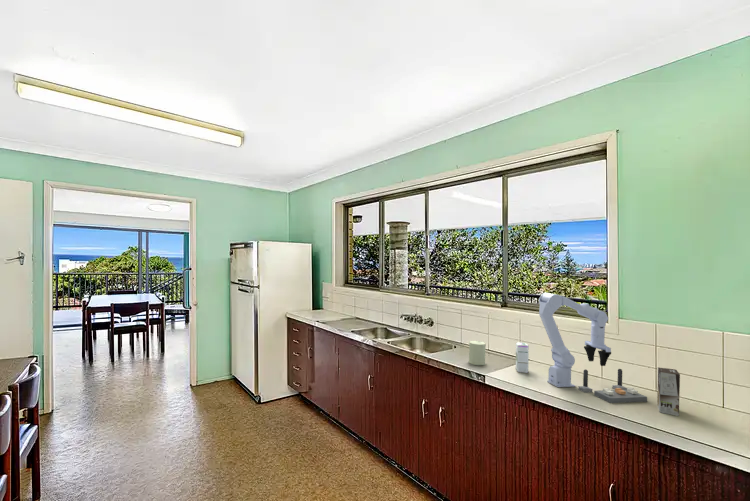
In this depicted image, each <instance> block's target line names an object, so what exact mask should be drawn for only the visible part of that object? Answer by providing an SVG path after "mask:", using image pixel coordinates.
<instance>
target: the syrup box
mask: <svg viewBox="0 0 750 501" xmlns="http://www.w3.org/2000/svg"><path fill="white" fill-rule="evenodd" d="M529 352H530V351H529V344H527V343H526V342H516V343H515V370H516V372H518V373H529V360H530V357H529Z"/></svg>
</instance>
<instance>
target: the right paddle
mask: <svg viewBox="0 0 750 501" xmlns="http://www.w3.org/2000/svg"><path fill="white" fill-rule="evenodd" d="M626 388H627V392H629V393H632V394H638V393H639V391H638V390H636V389H634V387H626Z"/></svg>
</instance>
